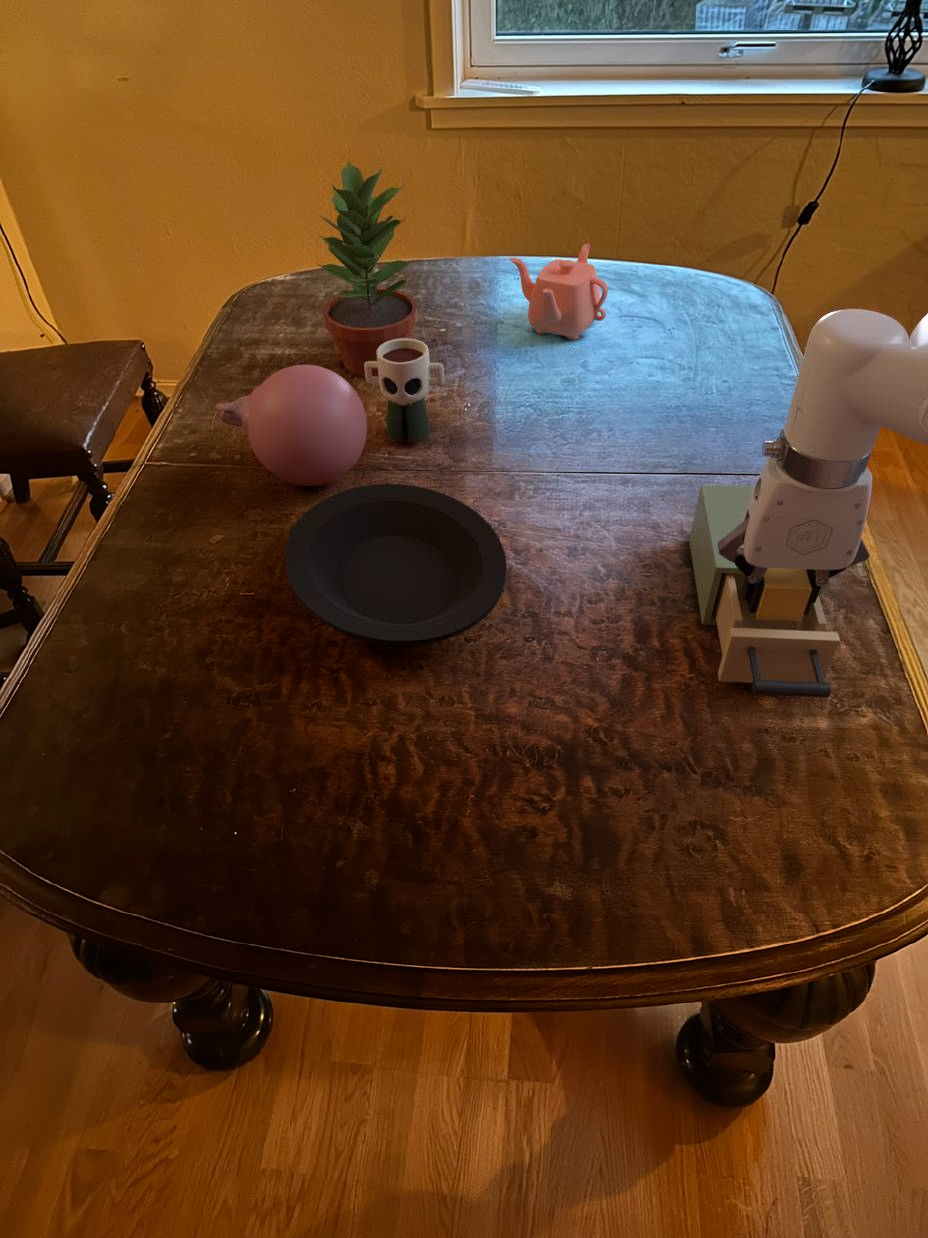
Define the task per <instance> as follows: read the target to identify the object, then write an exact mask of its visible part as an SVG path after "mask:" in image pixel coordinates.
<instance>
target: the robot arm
mask: <svg viewBox="0 0 928 1238" xmlns="http://www.w3.org/2000/svg"><path fill="white" fill-rule="evenodd" d="M881 428H884V429H886V430H889V431H891V432H893V433H896V434H899V435H901V436H903V437H905V438H908V439H910V440H912V441H916V442H919V443H921V444H924V445H928V313H926V314H925V316H924V317H922V319H921V320H920V321H918V323H917V324H916V326H915V328H914V329H913V330H912V332H911V334H910V337H909V335H908V332H907V330H906V329H905V327H904V326H903V325H902V324H901V323H900V322H899V321H898V320H896V319H895V318H894V317H891V316H889V315H887V314H884V313H881V312H877V311H873V310H868V309H860V308H846V309H838V310H836V311H832V312H830V313H827V314H825V315H824V316H822V317H821V318H820V319H819V320H818V321H817V322H816V323H815V324H814V326H813V327H812V329H811V331H810V333H809V337H808V339H807V342H806V346H805V350H804V354H803V357H802V360H801V364H800V368H799V372H798V375H797V380H796V382H795V387H794V391H793V393H792V397H791V401H790V405H789V408H788V412H787V416H786V419H785V424H784V428H781V429H780V433H779V436H778V437H777V438H776V439H773V440H772V441H770V440H769V441H763V442H762V447H761V455H762V457H765V458H767V457H769V458H768V459H767V461H766V462H765V465H764V466H763V468H762V470H761V471H760V474H759V475H758V478H757V480H756V482H755V484H754V485H753V486H754V489H753V491H752V494H751V496H750V499H749V502H748V504H747V507H746V510H745V513H744V517H743V520H742V523H741V524H740V525H738V526H737V527H736V528H735V529H734V530H732V531H731V532H730V533H729V534H728V535H726V536H725V537H724V538H723V539H721V540H720V541H719V542H718V544H717V545H718V551H719V554H720V555H721V556H723V557H724V558H726V559H727V560H729V561H730V562H733V563H735V565H736V567H737V568H738V569H739V570H740V571H742V572H743V573H744V574H745V579H744V582H743V586H742V591H741V595H742V600H744V601H747V604H748V609H749V613H755V612H756V611H757V608H758V604H759V601H760V598H761V594H762V591H763V587H764V584H763V579H762V578H763V576H764V574H765V572H766V571H767V569H768V568H787V569H806V571H807V574H808V578H809V581H810V585H811V588H812V591H811V594H810V597H809V599H808V602H807V605H806V608H805V611H804V614H803V615H807V614H808V612H809V609H810V606H811V603H815V602H816V600H817V597H818V594H819V591H820V588H821V586H824V587H825V586H827V584H828V583H829V581H830V579H832V578H833V577H835V576H837V575H839V574H840V573H842V572H845V571H846V570H847V569H848V567H849V566H850V567H853V566H855V565H858V564H860V563H862V562H865V561H867V560H869V558H870V553H869V550H868V547H867V545H866V543H865V542H864V540H863V533H864V530H865V526H866V522H867V519H868V513H869V508H870V507H869V506H870V503H871V496H872V489H873V474H872V472H871V471H870V469H869V467H868V464H869V461H870V459H871V456H872V454H873V451H874V448H875V444H876V441H877V439H878V436H879V434H880V431H881ZM743 544H744V549H743V548H739V547H740V546H742V545H743Z"/></svg>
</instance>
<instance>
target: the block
mask: <svg viewBox="0 0 928 1238" xmlns="http://www.w3.org/2000/svg"><path fill="white" fill-rule="evenodd" d="M762 579H763V584H764V587H763V591H762V594H761V598H760V601H759V604H758V608H757V611H756V612H755V614H756V619H757V620H782V621H801V619H802V617H803V614H804V611H805V608H806V605H807V602H808V599H809V597H810V594H811V591H812V588H811V585H810V581H809V578H808V574H807V571H806V569H787V568H768V569H767V571H766V572H765V574H764V576H763V578H762Z"/></svg>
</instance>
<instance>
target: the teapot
mask: <svg viewBox="0 0 928 1238" xmlns="http://www.w3.org/2000/svg"><path fill="white" fill-rule="evenodd" d="M590 250H591V244H590V243H589V242H588V243H585V244H583V246H582V247H581V249H580V252H579V255H578V257H577V260H576V261H574V260H572V259H559V258H557V259H554V260H552V261H549V263H548V264H546V265H545V266H543V268H542V269H541V270H540V272H539V273H538V275H537V277H536V279H535V282H534V281H533V279H532V278H531V275H530V272H529V268H528V267H527V265H526V263H525V262H524V261H523V260H521V259H519V258H516V257H509V260H510V261H511V262H512V263H513V264H514V265H515V266H516V268H517V269H518V272H519V278H520V286H521V292H522V294H523V296H524V298H525V299H526V300H527V301H528V302H529V303H528V309H527V317H528V319H527V320H528V321H529V324H530V326H531V328H532V329H534V330H536V332H537V333H538V334H542V335H543V334H554V335H560V336H565V337H566V339H568V340H577V339H579V338H580V335H582V334H583V333H584V332H586V331H587V330H588V329H589V328H590V327H591V326H592V324H593V323H594V321H596V322H601V321H604V320H605V318H606V316H607V313H606V310H605V308H601V307H602V306H603V304H604V303H605V301H606V299H607V296H608V294H609V287H608V284H607V283H606V281H604V280H603V279H602V278H600V277H598V274H597V270H596V267H595V266H594V264H589V263H588V259H589V258H588V257H589V252H590ZM599 313H600V314H599Z"/></svg>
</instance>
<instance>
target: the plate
mask: <svg viewBox="0 0 928 1238" xmlns="http://www.w3.org/2000/svg"><path fill="white" fill-rule="evenodd" d="M284 567H285V572H286V575H287V579H288V583H289V585H290V587H291V590H292V592H293V593H294V595H295V597H296V598H297V600H298V601H299V602H300V604H302V606H303V607H304V608H305V609H306V610H307V611H308V612H309V613H310V614H311V615H312V616H313V617H315V618H316V619H317V620H318V621H320V622H321V623H323V624H324V625H325V626H327V627H329V628H331V629H333V630H334V631H336V632H339V633H341V634H343V635H345V636H347V637H351V638H353V639H357V640H360V641H364V642H368V643H372V644H378V645H385V646H386V645H387V646H398V647H399V646H401V647H404V646H405V647H407V646H420V645H427V644H433V643H438V642H441V641H445V640H448V639H451V638H453V637H456V636H458V635H461V634H462V633H464V632H466V631H468V630H470V629H472V628H473V627H475V626H476V625H478V624H479V623H480V622H481V621H482V620H484V619H485V618H486V617H487V616H488V615H489V614H490V613H491V612H492V611H493V610H494V608H495V607H496V605H497V604H498V602H499V601H500V599H501V597H502V596H503V595H502V594H503V592H504V590H505V586H506V582H507V568H508V567H507V558H506V553H505V549H504V546H503V544H502V542H501V539H500V537H499V536H498V534H497V533H496V531H495V530H494V528H493V527H492V526H491V524H490V523H489V522H487V520H486V519H485V518H484V517H483V516H481V514H479V512H477V511H476V510H475V509H473V508H471V507H470V506H468V505H467V504H465V503H464V502H462V501H460V500H458V499H456V498H454V497H452V496H450V495H448V494H445V493H443V492H440V491H437V490H433V489H430V488H428V487H427V488H426V487H421V486H417V485H410V484H403V483H401V484H400V483H379V484H367V485H362V486H357V487H352V488H349V489H345V490H343V491H339V492H337V493H335V494H332V495H330V496H328V497H326V498H324V499H322V500H321V501H319V502H318V503H316V504H315V505H313V506H311V508H309V509H308V510H307V511H306V512H305V513H304V514H303V515H301V517H300V518H299V519H298V520H297V522H296V523H295V525H294V526H293V527H292V529H291V531H290V534H289V536H288V538H287V540H286V543H285V548H284Z"/></svg>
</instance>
